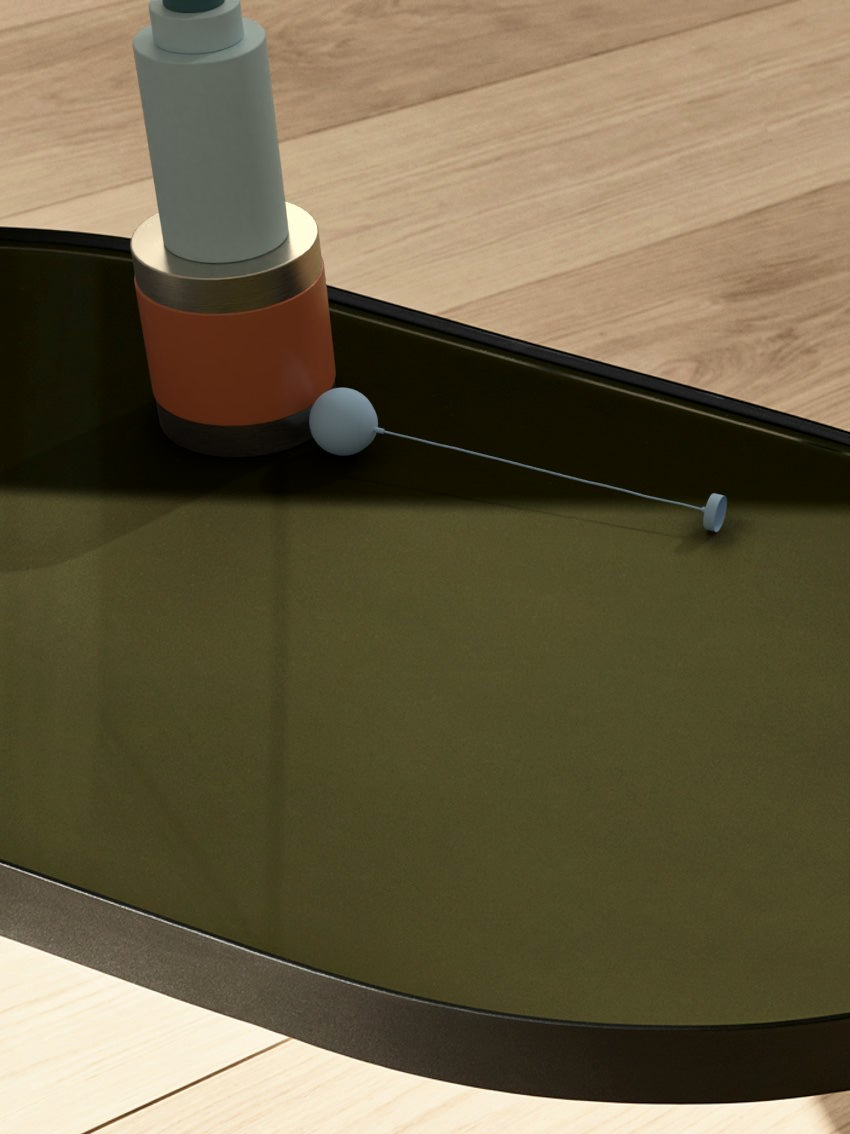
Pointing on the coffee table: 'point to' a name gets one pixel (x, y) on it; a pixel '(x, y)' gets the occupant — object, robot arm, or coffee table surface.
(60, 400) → the coffee table surface
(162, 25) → the bottle
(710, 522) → the ball ended pin
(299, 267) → the tin
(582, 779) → the coffee table surface
